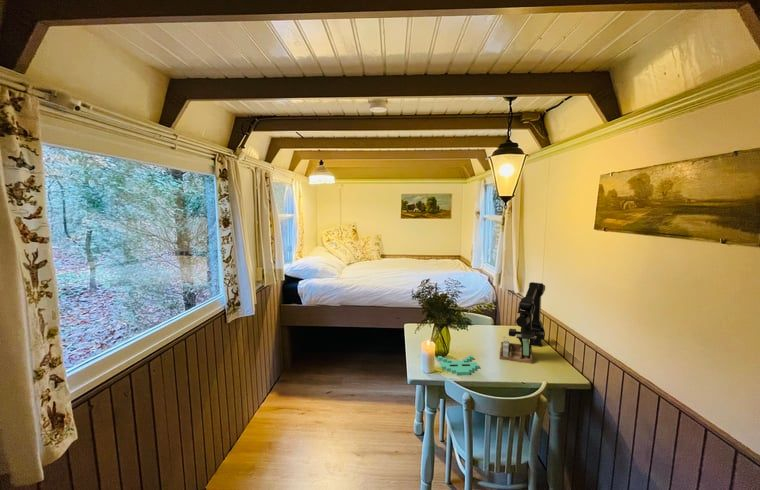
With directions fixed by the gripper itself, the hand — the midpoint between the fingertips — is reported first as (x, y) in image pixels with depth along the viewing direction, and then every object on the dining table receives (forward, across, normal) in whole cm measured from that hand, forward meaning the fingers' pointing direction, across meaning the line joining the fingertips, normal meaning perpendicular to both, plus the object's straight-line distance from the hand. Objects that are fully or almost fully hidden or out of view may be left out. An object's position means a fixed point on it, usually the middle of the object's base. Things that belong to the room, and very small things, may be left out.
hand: (526, 348), depth 193 cm
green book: (+2, 0, 0) cm, 2 cm away
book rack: (+6, -5, 0) cm, 8 cm away
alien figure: (+6, -34, -24) cm, 42 cm away
